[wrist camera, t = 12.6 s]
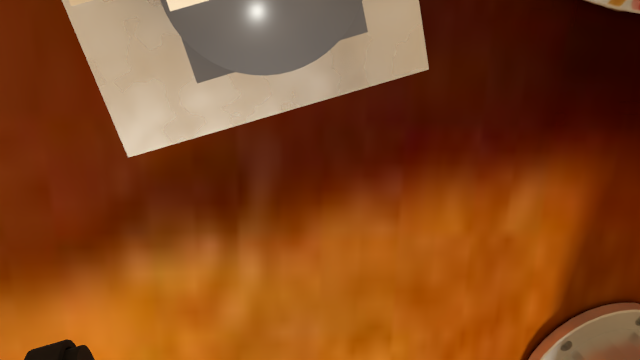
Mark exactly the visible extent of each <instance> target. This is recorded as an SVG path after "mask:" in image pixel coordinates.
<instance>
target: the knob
mask: <svg viewBox="0 0 640 360" xmlns="http://www.w3.org/2000/svg"><path fill="white" fill-rule="evenodd" d="M160 1H161V4H162V6H163V8H164V11H165V13H166V15H167V17H168V18H169V20H170V22H171V24H172V25H173V27H174V28H175V29H176V31H177V32H178V33H179V35H180V36H181V38H182V41H183V44H184V47H185V50H186V53H187V56H188V59H189V62H190V64H191V67H192V70H193V73H194V76H195V79H196V82H197V83H201V82H204V81H207V80H210V79H214V78H217V77H220V76H224V75H227V74H230V73H234V72H238V73H242V74H249V75H264V76H267V75H277V74H282V73H287V72H291V71H294V70H297V69H299V68H302V67H304V66H306V65H308V64H310V63H312V62H314V61H316V60H317V59H319V58H320V57H321V56H323V55H324V54H326V53H327V52H328V51H329V50H330V49H331V48H332V47H334V46H335V45H336V44H337V43H338V41H340V40H343V39H347V38H350V37H353V36H356V35H360V34H363V33H366V32H368V30H367V25H366V19H365V14H364V9H363V4H362V0H160Z"/></svg>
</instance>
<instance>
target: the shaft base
mask: <svg viewBox="0 0 640 360" xmlns="http://www.w3.org/2000/svg"><path fill="white" fill-rule="evenodd" d="M62 2H63V4H64V7H65V9H66V11H67V14H68V16H69V18H70V21H71V23H72V26H73V28H74V30H75V33H76V35H77V37H78V40H79V42H80V44H81V47H82V49H83V52H84V54H85V56H86V59H87V61H88V63H89V66H90V68H91V70H92V73H93V75H94V78H95V80H96V82H97V85H98V87H99V89H100V92H101V94H102V96H103V99H104V101H105V104H106V106H107V108H108V111H109V113H110V115H111V118H112V120H113V122H114V125H115V127H116V130H117V132H118V134H119V137H120V139H121V141H122V144H123V146H124V148H125V151H126V153H127V156H128V157H132V156H135V155H138V154H142V153H145V152H149V151H152V150H156V149H159V148H162V147H166V146H169V145H173V144H176V143H179V142H183V141H186V140H190V139H193V138H196V137H200V136H203V135H207V134H210V133H213V132H217V131H220V130H224V129H227V128H230V127H234V126H237V125H241V124H244V123H248V122H251V121H254V120H258V119H261V118H265V117H268V116H271V115H275V114H278V113H282V112H285V111H288V110H292V109H295V108H299V107H302V106H305V105H309V104H312V103H316V102H319V101H322V100H326V99H329V98H333V97H336V96H340V95H343V94H346V93H350V92H353V91H357V90H360V89H363V88H367V87H370V86H374V85H377V84H380V83H384V82H387V81H391V80H394V79H397V78H401V77H404V76H408V75H411V74H414V73H418V72H421V71H425V70H428V69H429V67H428V60H427V53H426V47H425V40H424V33H423V26H422V19H421V12H420V5H419V0H362V4H363V9H364V14H365V19H366V25H367V30H368V32H366V33H363V34H360V35H356V36H353V37H350V38H347V39H343V40H340V41H338V43H337V44H336V45H335V46H334V47H332V48H331V49H330V50H329V51H328V52H327V53H326V54H324V55H323V56H321V57H320V58H319V59H317V60H316V61H314V62H312V63H310V64H308V65H306V66H304V67H302V68H299V69H297V70H294V71H291V72H287V73H282V74H277V75H267V76H264V75H249V74H242V73H238V72H234V73H230V74H227V75H224V76H220V77H217V78H214V79H210V80H207V81H204V82H201V83H197V82H196V79H195V76H194V73H193V70H192V67H191V64H190V62H189V59H188V56H187V53H186V50H185V47H184V44H183V41H182V38H181V36H180V35H179V33H178V32H177V31H176V29H175V28H174V27H173V25H172V24H171V22H170V20H169V18H168V17H167V15H166V13H165V11H164V8H163V6H162V4H161V1H160V0H62Z"/></svg>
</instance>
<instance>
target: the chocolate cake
mask: <svg viewBox="0 0 640 360" xmlns="http://www.w3.org/2000/svg"><path fill="white" fill-rule="evenodd" d="M584 1H587V2H589V3H592V4H596V5H601V6H603V7H606V8H608V9H611V10H614V11H617V12H618V11H627V12H632V13H636V14H640V0H584Z"/></svg>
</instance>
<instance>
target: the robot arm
mask: <svg viewBox="0 0 640 360" xmlns="http://www.w3.org/2000/svg"><path fill="white" fill-rule="evenodd" d="M24 360H94V358H93V356H92V354H91V352H90V350H89V349H88V347H87V346H85V345H81V346H77V347H76V345H75V344H74V343H73V342H72V341H71V340H64V341H60V342H57V343H53V344H50V345H46V346H43V347H40V348H36V349H33V350H31V351H29V352H28V353H27V355H26V356H25V359H24ZM528 360H640V304H638V303H615V304H609V305H604V306H600V307H597V308H594V309H591V310H588V311H586V312H584V313H582V314H580V315H578V316H576V317H574V318H572V319H570V320H569V321H567V322H566V323H564V324H563V325H561V326H560V327H558V328H557V329H556V330H554V331H553V332H552V333H551V334H550V335H549V336H548V337H546V338H545V339H544V340H543V341H542V342H541V344H540V345H539V346H538V347H537V348H536V349H535V350H534V352H533V353H532V354H531V356H530V357H529V359H528Z"/></svg>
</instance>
